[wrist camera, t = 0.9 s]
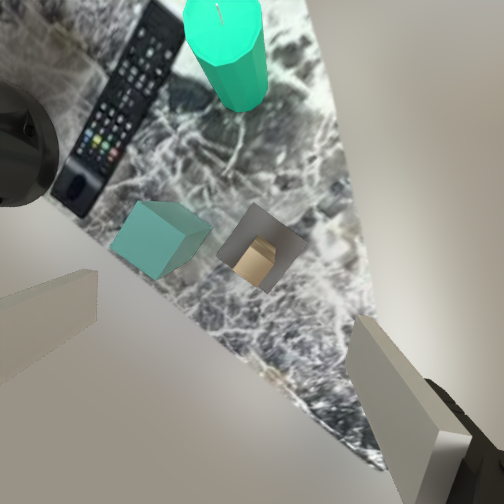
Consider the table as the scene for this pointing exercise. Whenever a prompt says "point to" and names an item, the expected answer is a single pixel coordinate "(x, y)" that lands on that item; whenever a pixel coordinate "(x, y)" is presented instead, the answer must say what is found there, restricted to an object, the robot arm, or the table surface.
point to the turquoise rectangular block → (160, 237)
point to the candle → (229, 49)
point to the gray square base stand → (261, 248)
